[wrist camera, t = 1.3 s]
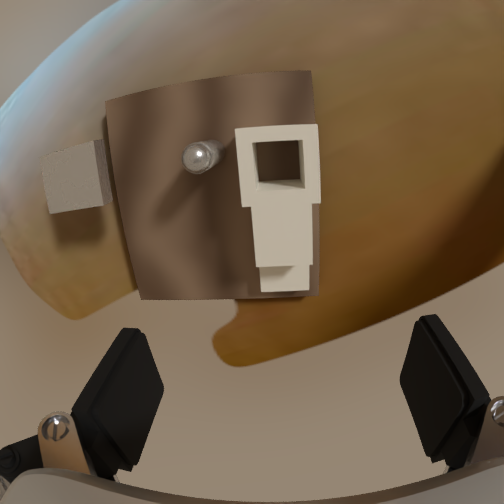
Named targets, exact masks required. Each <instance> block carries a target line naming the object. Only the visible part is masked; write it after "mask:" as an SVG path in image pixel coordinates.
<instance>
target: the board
mask: <svg viewBox="0 0 504 504" xmlns="http://www.w3.org/2000/svg"><path fill="white" fill-rule="evenodd" d="M105 104H106V116H107V126H108V135H109V144H110V152H111V159H112V166H113V173H114V179H115V185H116V191H117V197H118V202H119V208H120V213H121V218H122V223H123V228H124V232H125V237H126V242H127V246H128V250H129V255H130V259H131V263H132V267H133V271H134V275H135V279H136V282H137V286H138V290H139V293H140V297H141V300H144V299H145V300H201V299H202V300H203V299H250V298H278V297H300V296H319V203H313V204H312V234H313V265H309V290H299V291H277V292H261V283H260V270H259V267H256V259H255V247H254V235H253V224H252V212H251V207H242V202H241V191H240V181H239V170H238V159H237V148H236V137H235V129H237V128H248V127H261V126H277V125H300V124H315V111H314V99H313V87H312V76H311V71H279V72H263V73H251V74H240V75H231V76H223V77H215V78H208V79H202V80H195V81H190V82H184V83H179V84H173V85H168V86H164V87H159V88H154V89H150V90H146V91H142V92H138V93H134V94H130V95H126V96H122V97H119V98H115V99H112V100H108V101H105ZM207 140H217V141H219V142H221V143H222V144H223V146H224V148H225V157H224V159H223V160H222V161H221V162H220V163H218V164H217V165H215V166H213V167H212V168H210V169H208V170H207V171H205V172H203V173H201V174H193V173H190V172H188V171H187V170H186V169H185V168H184V167H183V165H182V161H181V155H182V152H183V150H184V149H185V147H186V146H188V145H189V144H191V143H195V142H201V141H207ZM256 149H257V161H258V174H259V181H273V180H293V179H300V163H299V146H298V140H286V141H268V142H256Z"/></svg>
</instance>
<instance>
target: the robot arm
mask: <svg viewBox="0 0 504 504" xmlns="http://www.w3.org/2000/svg"><path fill="white" fill-rule="evenodd" d="M400 385H401V388H402V390H403V393H404V395H405V398H406V400H407V403H408V406H409V409H410V411H411V414H412V417H413V419H414V422H415V425H416V428H417V430H418V434H419V437H420V440H421V442H422V446H423V449H424V452H425V454H426V456H428V457H430V458H431V461H432V463H434V462H438V461H441V460H444V459H445V462H446V465H447V466H446V468H445V471H444V473H443V474H442V475H439V476H436V477H433V478H429V479H426V480H422V481H419V482H415V483H411V484H407V485H403V486H400V487H396V488H392V489H387V490H382V491H377V492H372V493H366V494H361V495H354V496H348V497H340V498H332V499H323V500H312V501H296V502H238V501H224V500H211V499H203V498H194V497H187V496H180V495H174V494H168V493H163V492H158V491H153V490H148V489H143V488H139V487H134V486H130V485H126V484H122V483H120V482H119V480H118V478H117V476H116V473H117V471H118V469H122V470H126V471H130V472H131V471H132V468H133V465H137V464H138V462H139V459H140V456H141V453H142V451H143V448H144V445H145V442H146V439H147V436H148V433H149V431H150V428H151V425H152V423H153V420H154V417H155V415H156V412H157V409H158V406H159V404H160V401H161V398H162V395H163V392H164V386H163V383H162V380H161V378H160V375H159V372H158V370H157V367H156V364H155V362H154V359H153V356H152V353H151V350H150V347H149V345H148V342H147V339H146V336H145V334H144V333H141V331H140V330H139V329H138V328H123V329H122V330H121V331H120V333H119V334H118V336H117V337H116V339H115V340H114V342H113V343H112V345H111V346H110V348H109V350H108V351H107V353H106V354H105V356H104V357H103V359H102V360H101V362H100V363H99V365H98V367H97V368H96V370H95V371H94V373H93V374H92V376H91V378H90V379H89V381H88V383H87V384H86V386H85V387H84V389H83V391H82V392H81V394H80V396H79V397H78V399H77V401H76V402H75V404H74V406H73V407H72V412H71V414H70V415H69V414H68V413H65V412H53V413H51V414H48V415H47V416H46V417H44V418H43V419H42V421H41V422H40V424H39V426H38V434H37V435H35V436H32V437H30V438H27V439H24V440H22V441H19V442H16V443H13V444H11V445H8V446H6V447H4V448H2V449H1V450H0V504H504V396H500V397H496V398H494V399H493V400H491V399H490V397H489V393H488V391H487V390H486V388H485V386H484V385H483V383H482V381H481V380H480V378H479V377H478V375H477V373H476V372H475V370H474V368H473V367H472V366H471V364H470V362H469V361H468V359H467V357H466V356H465V354H464V353H463V351H462V350H461V348H460V347H459V345H458V344H457V343H456V341H455V340H454V338H453V337H452V335H451V334H450V332H449V331H448V330H447V328H446V327H445V325H444V324H443V322H442V321H441V320H440V318H439V317H438V316H437V315H436V314H433V315H426V316H421V317H420V318H419V321H416V322H415V324H414V329H413V332H412V336H411V340H410V344H409V348H408V351H407V355H406V358H405V361H404V365H403V368H402V371H401V374H400Z"/></svg>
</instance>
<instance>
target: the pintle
mask: <svg viewBox="0 0 504 504" xmlns="http://www.w3.org/2000/svg"><path fill="white" fill-rule="evenodd" d="M224 157H225V148H224V146H223V144H222V143H221V142H219V141H217V140H207V141H201V142H195V143H191V144H189V145H188V146H186V147H185V149H184V150H183V152H182V155H181V161H182V165H183V167H184V168H185V169H186V170H187V171H188V172H190V173H193V174H201V173H203V172H205V171H207V170H208V169H210V168H212V167H213V166H215V165H217V164H218V163H220V162H221V161H222V160H223V159H224Z"/></svg>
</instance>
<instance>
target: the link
mask: <svg viewBox="0 0 504 504" xmlns="http://www.w3.org/2000/svg"><path fill="white" fill-rule="evenodd" d="M235 137H236V148H237V159H238V170H239V181H240V191H241V202H242V207H251V212H252V224H253V235H254V247H255V259H256V267H259V270H260V283H261V292H277V291H299V290H309V265H313V234H312V204H313V203H321V189H320V161H319V141H318V125H317V124H300V125H277V126H261V127H248V128H237V129H235ZM286 140H298V146H299V163H300V179H293V180H273V181H259V174H258V161H257V149H256V142H268V141H286Z"/></svg>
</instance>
